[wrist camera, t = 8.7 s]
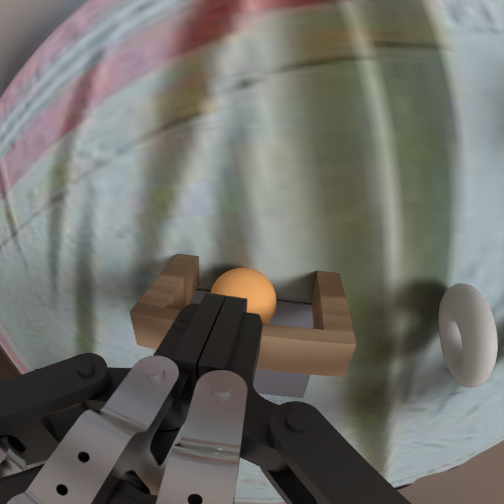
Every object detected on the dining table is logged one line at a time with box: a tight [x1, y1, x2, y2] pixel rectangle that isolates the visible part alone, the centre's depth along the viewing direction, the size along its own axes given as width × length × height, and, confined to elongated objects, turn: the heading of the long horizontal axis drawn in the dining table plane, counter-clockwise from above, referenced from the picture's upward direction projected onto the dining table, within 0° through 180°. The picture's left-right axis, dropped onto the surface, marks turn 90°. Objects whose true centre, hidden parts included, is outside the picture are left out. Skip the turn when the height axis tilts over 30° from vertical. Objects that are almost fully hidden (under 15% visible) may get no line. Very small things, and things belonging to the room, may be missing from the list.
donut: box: [438, 283, 498, 388], centre depth 20 cm, size 10×4×10 cm, turn 20°
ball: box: [210, 268, 276, 324], centre depth 23 cm, size 6×6×6 cm
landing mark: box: [188, 289, 313, 398], centre depth 29 cm, size 14×14×1 cm
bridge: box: [130, 254, 357, 377], centre depth 21 cm, size 3×14×9 cm, turn 86°
